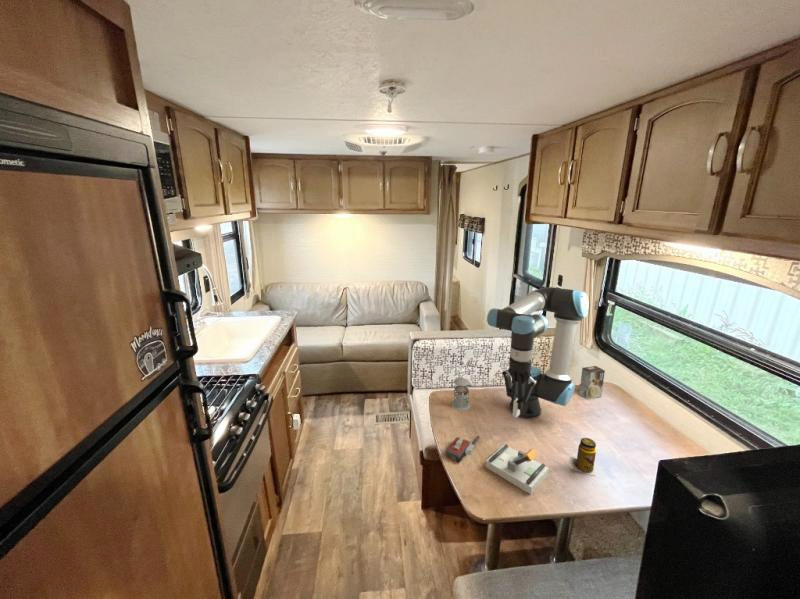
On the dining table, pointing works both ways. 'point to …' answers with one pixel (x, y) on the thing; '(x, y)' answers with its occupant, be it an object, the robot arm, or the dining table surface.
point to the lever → (525, 457)
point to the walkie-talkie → (460, 449)
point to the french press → (461, 400)
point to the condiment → (585, 457)
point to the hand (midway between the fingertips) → (516, 415)
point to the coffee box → (591, 382)
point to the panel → (517, 469)
